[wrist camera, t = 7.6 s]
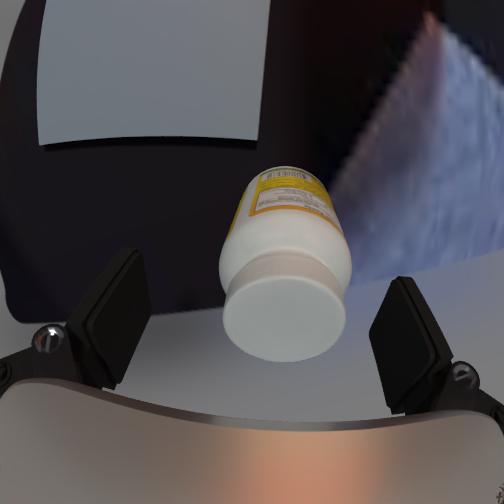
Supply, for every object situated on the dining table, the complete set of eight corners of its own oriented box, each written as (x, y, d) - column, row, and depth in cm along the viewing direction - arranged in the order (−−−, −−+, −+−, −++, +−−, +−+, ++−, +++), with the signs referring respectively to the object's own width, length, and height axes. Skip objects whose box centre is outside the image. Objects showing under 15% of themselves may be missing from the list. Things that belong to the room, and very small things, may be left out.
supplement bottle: (290, 146, 15) (303, 215, 7) (346, 213, 17) (394, 330, 8) (222, 203, 17) (169, 313, 9) (279, 260, 19) (273, 387, 11)
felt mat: (274, -44, 8) (274, -48, 8) (257, 138, 15) (256, 140, 14) (51, 1, 9) (46, 0, 9) (44, 143, 15) (39, 145, 15)
